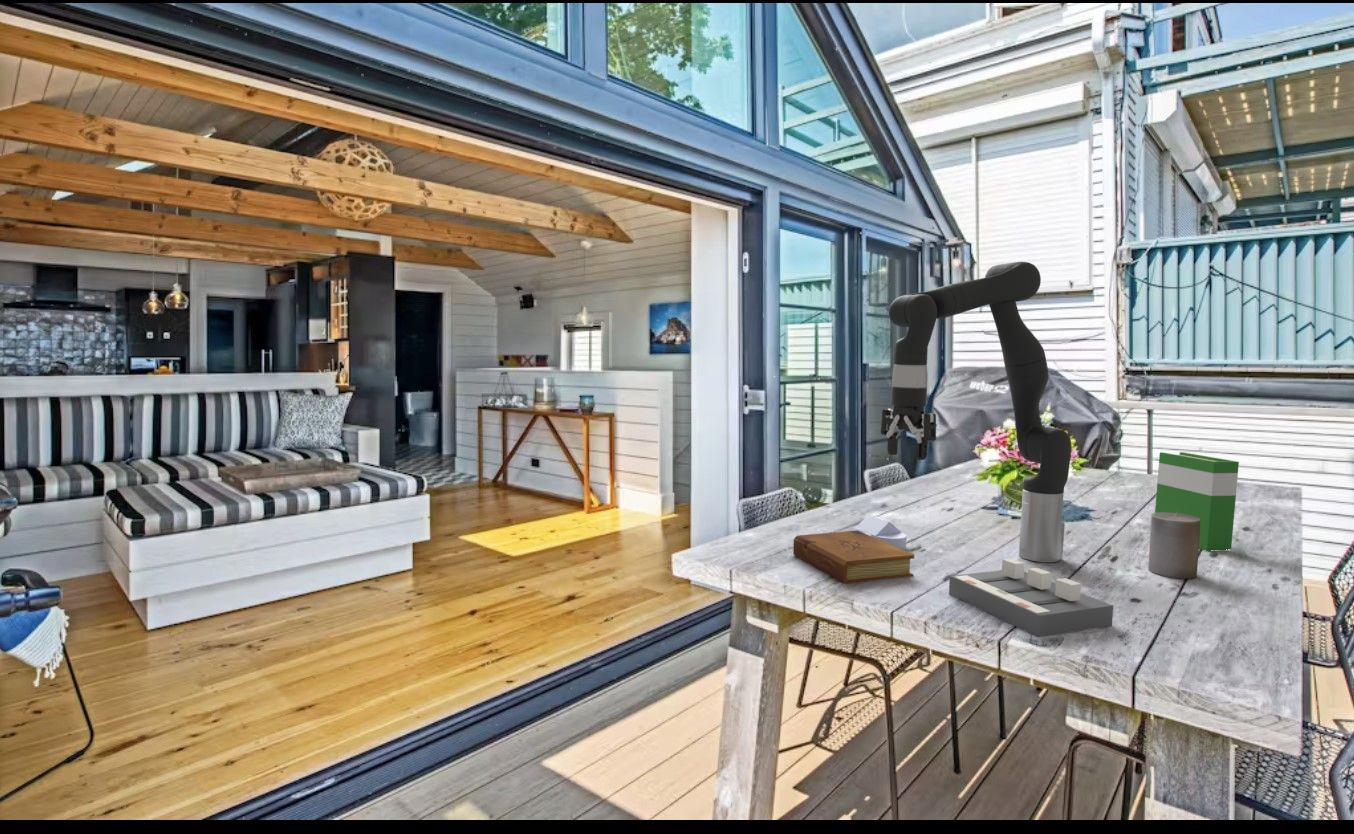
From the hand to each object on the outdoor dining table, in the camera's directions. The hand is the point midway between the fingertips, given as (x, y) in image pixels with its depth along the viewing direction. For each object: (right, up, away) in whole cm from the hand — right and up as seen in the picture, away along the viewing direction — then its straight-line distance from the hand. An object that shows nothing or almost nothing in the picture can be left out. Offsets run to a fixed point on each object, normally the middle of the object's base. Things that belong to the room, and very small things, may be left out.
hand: (906, 457), depth 162 cm
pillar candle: (+66, -28, +9) cm, 72 cm away
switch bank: (+19, -30, -16) cm, 39 cm away
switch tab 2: (+22, -25, -16) cm, 37 cm away
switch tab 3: (+24, -26, -22) cm, 42 cm away
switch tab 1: (+20, -25, -9) cm, 33 cm away
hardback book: (+91, -26, +38) cm, 102 cm away
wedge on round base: (+4, -25, +31) cm, 40 cm away
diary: (-10, -28, +12) cm, 31 cm away
